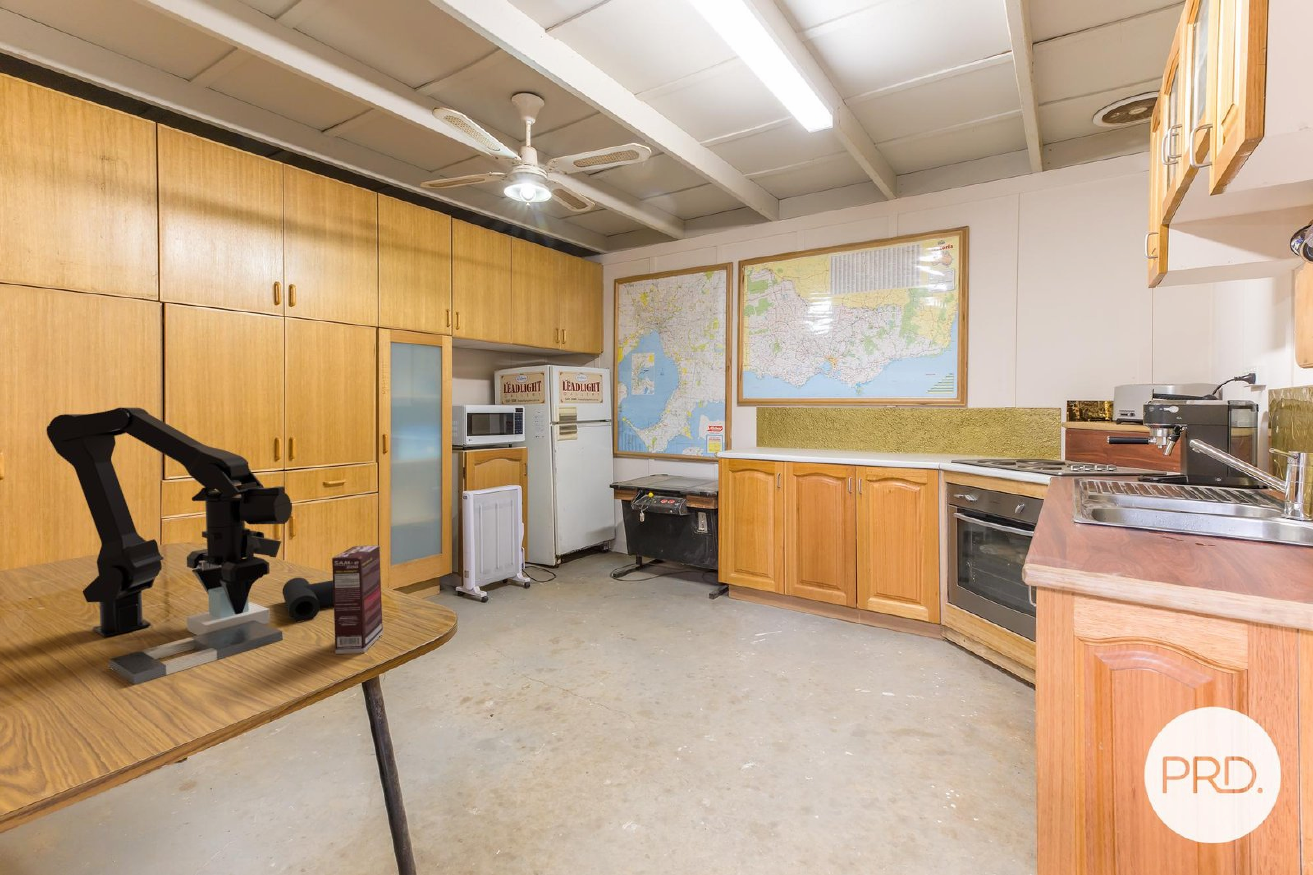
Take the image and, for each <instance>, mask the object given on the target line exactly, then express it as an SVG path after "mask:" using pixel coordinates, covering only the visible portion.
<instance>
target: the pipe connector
mask: <svg viewBox="0 0 1313 875" xmlns="http://www.w3.org/2000/svg"><path fill="white" fill-rule="evenodd" d="M281 590H282V596H283V599H284V602H285V605H286V608H287V612H288V614H289V617H290V618H291V619H292V620H293V621H295V622H296V623H299V622H305V621H310V620H313V619H314V618H315V617H317V615H318V614H319V611H320V609H321V608H322V609H323V608H326V607H332V606H333V607H334V596H333V579H332V580H327V581H322V582H316V583H314V582H313V583H310V582H309V581H308V580H307V579H306V578H303V577H294V578H290V579H289V580H287V581H286V582H285V583H284V585H283V587H282V589H281Z"/></svg>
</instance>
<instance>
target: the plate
mask: <svg viewBox="0 0 1313 875" xmlns="http://www.w3.org/2000/svg"><path fill="white" fill-rule="evenodd" d="M283 638H284V636H283V630H280V629H278V628H276V627H273V626H272V625H271V626H270V625H268V624H267V623H266V624H263V623H260V622H258V621H255V620H253V621H249V622H246V623H242V624H238V625H235V626H231V627H227V628H223V629H220V630H216V631H212V632H208V633H205V634H201V635H194V636H190V637H187V638H183V639H179V640H175V641H172V642H168V643H164V644H160V645H157V646H152V647H149V648H145V649H141V650H138V651H134V652H131V653H126V654H122V655H120V656H116V657H112V658H109V669H110V668H112V669H113V670H114V671H115V672H114V671H113V670H112V671H113V672H114V673H116V674H117V673H118V675H119V676H120V677H122V678H123V679H125V680H127V681H128V682H130V683H131V684H133V685H138V684H142V683H145V682H149V681H151V679H152V680H154V678H155V679H158V678H161V677H164V676H168V675H171V674H175V673H178V672H181V671H184V670H188V669H190V668H194V667H198V666H201V665H204V664H207V663H210V662H214V661H218V660H220V659H223V658H227V657H231V656H235V655H237V654H240V653H244V652H247V651H250V650H253V649H257V648H260V647H263V646H267V645H270V644H273V643H278V642H280V641H282V640H284V639H283ZM193 649H194V650H196V652H193V653H189V654H186V655H183V656H178V657H175V658H173V659H172V658H171V659H169V660H165V661H159V659H162V658H165V657H169V656H173V655H176V654H177V655H178V654H181V653H184V652H187V651H191V650H193ZM197 650H198V651H197ZM141 682H142V683H141Z"/></svg>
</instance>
